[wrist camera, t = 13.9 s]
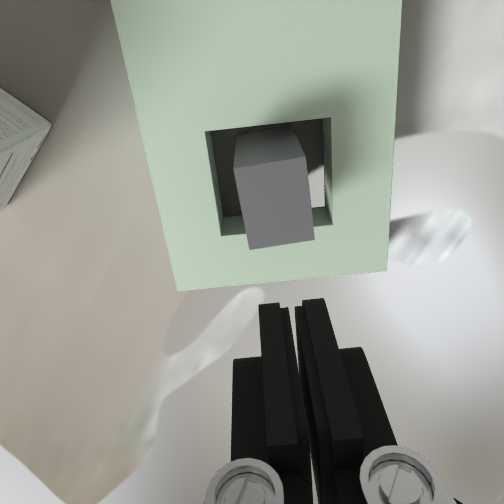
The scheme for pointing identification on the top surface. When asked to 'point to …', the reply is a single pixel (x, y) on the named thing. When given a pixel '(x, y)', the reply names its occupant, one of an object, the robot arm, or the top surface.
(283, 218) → the plug
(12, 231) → the top surface
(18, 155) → the supplement box
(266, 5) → the socket plate
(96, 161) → the top surface
